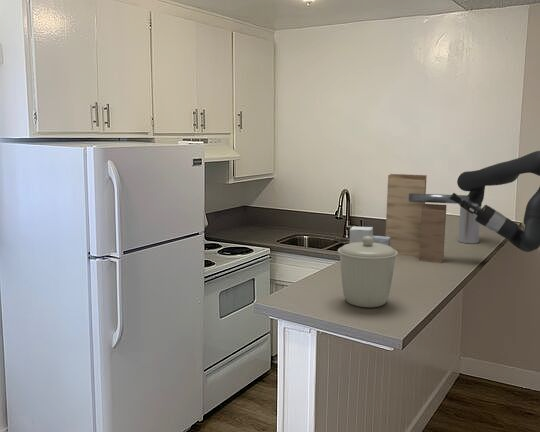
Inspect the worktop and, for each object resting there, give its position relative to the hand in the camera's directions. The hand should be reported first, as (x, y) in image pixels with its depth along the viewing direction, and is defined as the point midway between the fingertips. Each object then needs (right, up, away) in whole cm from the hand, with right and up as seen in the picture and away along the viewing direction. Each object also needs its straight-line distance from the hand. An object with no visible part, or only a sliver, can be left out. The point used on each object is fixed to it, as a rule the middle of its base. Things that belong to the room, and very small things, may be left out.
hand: (451, 195), depth 222 cm
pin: (-5, -3, +2) cm, 6 cm away
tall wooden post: (-6, -26, +7) cm, 28 cm away
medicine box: (-27, -26, +10) cm, 38 cm away
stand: (-15, -24, +18) cm, 33 cm away
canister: (-42, -35, -48) cm, 73 cm away
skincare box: (-37, -28, -6) cm, 47 cm away
